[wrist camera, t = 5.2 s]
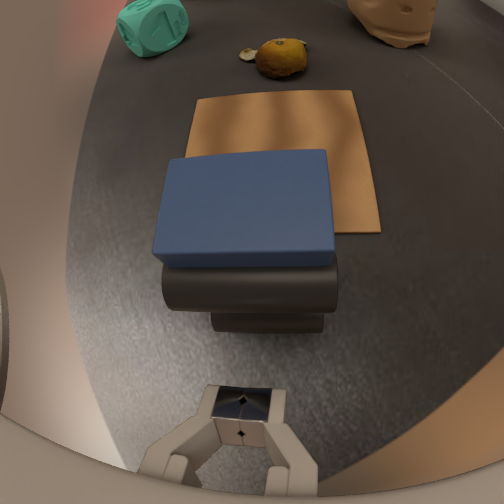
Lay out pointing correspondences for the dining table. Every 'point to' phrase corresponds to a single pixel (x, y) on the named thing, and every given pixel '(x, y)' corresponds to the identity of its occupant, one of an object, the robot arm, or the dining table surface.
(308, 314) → the toy car
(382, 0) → the container
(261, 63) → the fruit
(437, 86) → the dining table surface
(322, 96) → the brown flat square board
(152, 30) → the decorative dice
